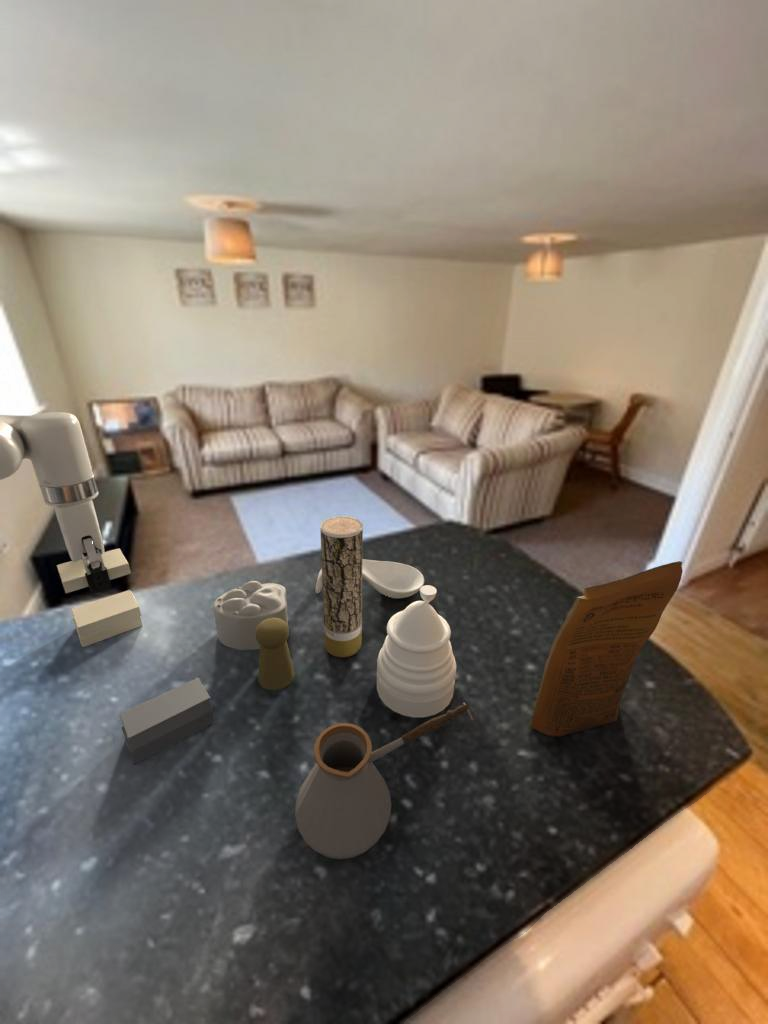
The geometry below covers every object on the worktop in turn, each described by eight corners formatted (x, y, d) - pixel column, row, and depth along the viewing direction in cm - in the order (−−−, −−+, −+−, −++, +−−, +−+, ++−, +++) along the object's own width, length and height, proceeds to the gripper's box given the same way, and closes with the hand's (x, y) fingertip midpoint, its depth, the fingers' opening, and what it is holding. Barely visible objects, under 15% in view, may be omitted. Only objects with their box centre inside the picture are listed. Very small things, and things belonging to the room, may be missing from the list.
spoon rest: (420, 576, 104) (422, 549, 101) (426, 607, 94) (428, 578, 91) (319, 575, 104) (318, 548, 101) (313, 606, 93) (311, 577, 90)
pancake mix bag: (646, 725, 68) (707, 570, 57) (538, 755, 63) (580, 591, 52) (614, 692, 74) (663, 545, 62) (513, 716, 69) (545, 561, 57)
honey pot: (403, 647, 83) (408, 564, 75) (466, 679, 76) (479, 591, 68) (360, 691, 73) (361, 600, 65) (428, 732, 66) (438, 636, 59)
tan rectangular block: (82, 647, 80) (75, 628, 78) (75, 627, 85) (69, 608, 83) (143, 625, 86) (139, 606, 84) (134, 607, 91) (130, 589, 89)
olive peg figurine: (282, 657, 79) (277, 607, 75) (301, 676, 75) (298, 624, 71) (251, 675, 75) (244, 623, 71) (270, 696, 72) (264, 642, 67)
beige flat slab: (65, 593, 75) (62, 582, 74) (60, 575, 80) (56, 565, 79) (131, 573, 81) (128, 563, 80) (121, 557, 86) (119, 547, 85)
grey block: (134, 764, 60) (126, 739, 58) (125, 739, 64) (117, 714, 62) (214, 722, 67) (210, 697, 65) (202, 701, 70) (198, 677, 68)
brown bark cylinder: (339, 665, 78) (336, 539, 68) (317, 644, 83) (312, 523, 72) (369, 648, 82) (371, 526, 72) (346, 629, 87) (345, 512, 76)
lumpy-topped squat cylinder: (289, 645, 82) (286, 606, 79) (214, 654, 80) (208, 615, 76) (287, 610, 91) (285, 574, 88) (221, 617, 89) (215, 581, 85)
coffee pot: (302, 886, 48) (294, 798, 42) (291, 786, 58) (284, 702, 52) (480, 831, 54) (497, 746, 48) (443, 748, 64) (452, 669, 58)
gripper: (36, 479, 77) (65, 566, 85) (49, 513, 65) (81, 611, 73) (86, 470, 82) (109, 554, 89) (107, 500, 70) (131, 594, 77)
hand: (96, 579), depth 81 cm, fingers closed on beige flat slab, 7 cm apart
